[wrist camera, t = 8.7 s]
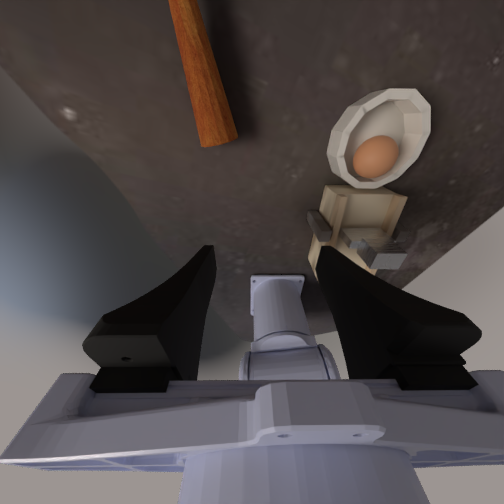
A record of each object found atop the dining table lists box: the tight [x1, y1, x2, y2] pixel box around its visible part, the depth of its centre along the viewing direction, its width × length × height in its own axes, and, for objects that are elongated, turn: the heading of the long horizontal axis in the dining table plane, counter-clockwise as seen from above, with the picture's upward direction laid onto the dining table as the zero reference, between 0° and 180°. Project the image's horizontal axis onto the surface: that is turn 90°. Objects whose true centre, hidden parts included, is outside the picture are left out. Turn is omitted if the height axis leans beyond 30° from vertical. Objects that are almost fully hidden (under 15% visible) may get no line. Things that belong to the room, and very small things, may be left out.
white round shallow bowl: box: [327, 89, 431, 189], centre depth 17 cm, size 7×7×2 cm
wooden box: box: [306, 185, 411, 280], centre depth 21 cm, size 10×9×5 cm
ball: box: [353, 135, 399, 178], centre depth 16 cm, size 3×3×3 cm
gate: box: [338, 228, 408, 269], centre depth 17 cm, size 2×4×5 cm, turn 90°
